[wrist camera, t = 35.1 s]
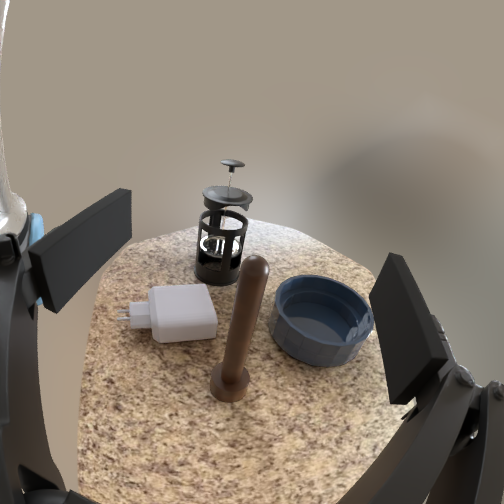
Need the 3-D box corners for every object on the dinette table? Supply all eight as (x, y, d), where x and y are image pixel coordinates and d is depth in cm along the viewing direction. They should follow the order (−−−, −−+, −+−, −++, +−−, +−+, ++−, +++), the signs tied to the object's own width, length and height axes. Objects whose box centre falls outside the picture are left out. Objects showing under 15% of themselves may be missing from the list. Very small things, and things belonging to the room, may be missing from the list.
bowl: (251, 343, 44) (258, 316, 41) (286, 288, 58) (293, 263, 55) (351, 384, 39) (368, 361, 36) (364, 319, 53) (376, 296, 50)
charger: (119, 306, 45) (203, 301, 50) (119, 348, 37) (215, 340, 43) (116, 285, 42) (205, 280, 48) (114, 327, 35) (218, 319, 41)
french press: (246, 286, 56) (271, 172, 45) (200, 290, 53) (213, 168, 41) (229, 254, 65) (246, 154, 54) (188, 255, 62) (199, 151, 50)
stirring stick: (202, 391, 35) (218, 259, 24) (220, 367, 39) (244, 237, 28) (236, 408, 33) (273, 282, 22) (252, 382, 37) (292, 255, 27)
